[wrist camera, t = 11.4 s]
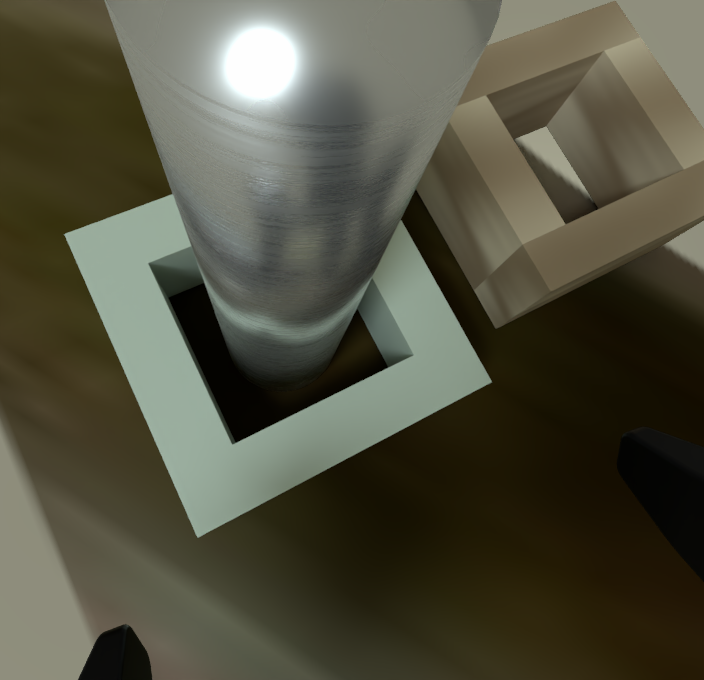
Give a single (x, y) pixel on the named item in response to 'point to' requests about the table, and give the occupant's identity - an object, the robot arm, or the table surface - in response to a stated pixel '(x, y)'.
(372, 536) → the table surface
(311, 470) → the socket block
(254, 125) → the axle
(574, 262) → the brown square frame
